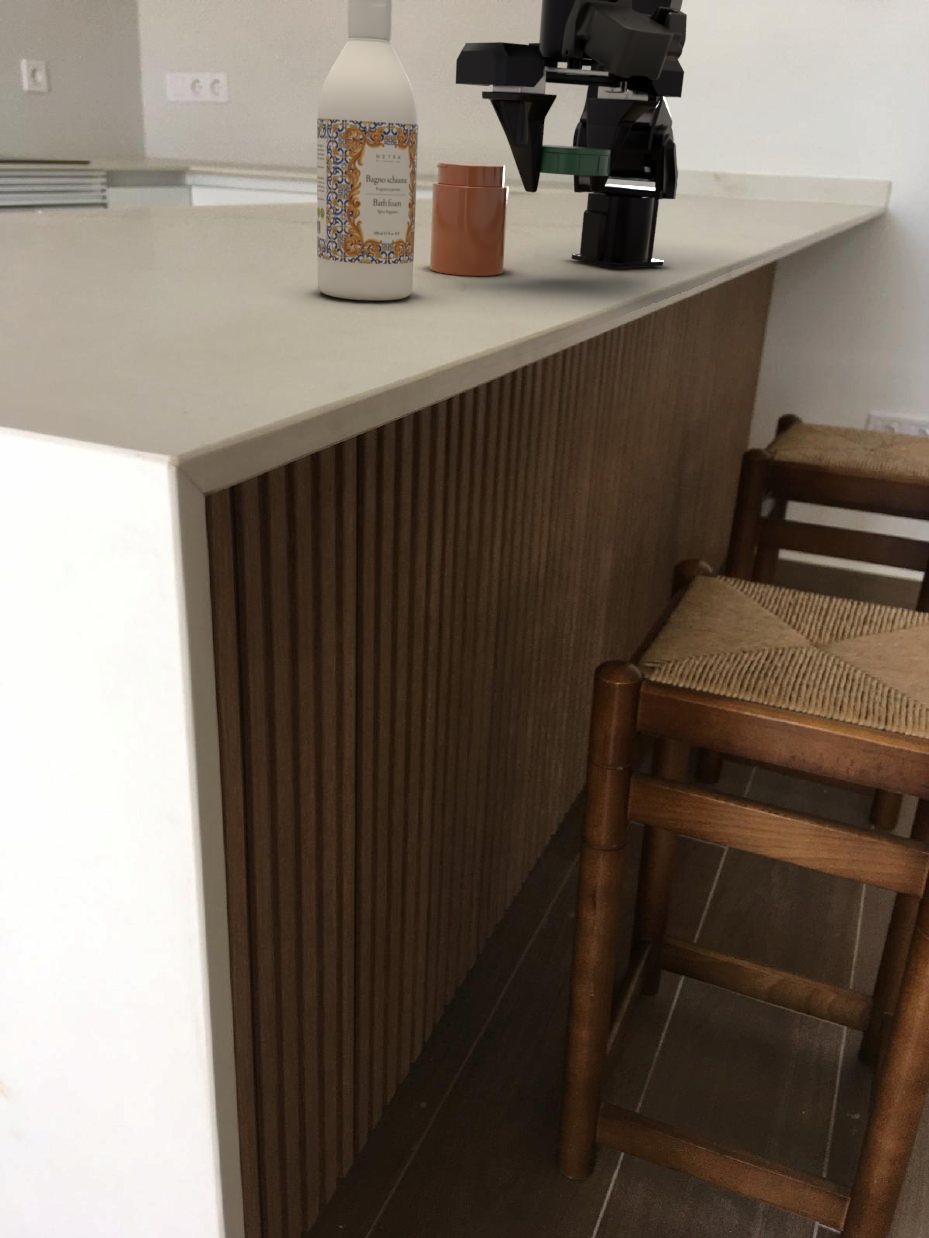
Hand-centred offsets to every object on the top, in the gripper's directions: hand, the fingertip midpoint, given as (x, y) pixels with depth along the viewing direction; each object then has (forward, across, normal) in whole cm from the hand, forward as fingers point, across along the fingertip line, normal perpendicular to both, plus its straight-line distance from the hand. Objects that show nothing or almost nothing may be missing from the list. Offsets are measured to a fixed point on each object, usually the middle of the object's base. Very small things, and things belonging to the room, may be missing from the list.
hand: (564, 192), depth 87 cm
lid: (-3, 0, 0) cm, 3 cm away
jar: (+7, -4, +8) cm, 11 cm away
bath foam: (+7, -19, -1) cm, 20 cm away
